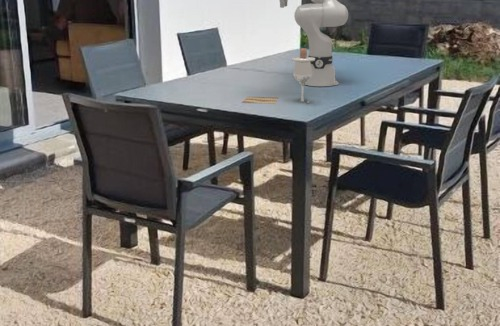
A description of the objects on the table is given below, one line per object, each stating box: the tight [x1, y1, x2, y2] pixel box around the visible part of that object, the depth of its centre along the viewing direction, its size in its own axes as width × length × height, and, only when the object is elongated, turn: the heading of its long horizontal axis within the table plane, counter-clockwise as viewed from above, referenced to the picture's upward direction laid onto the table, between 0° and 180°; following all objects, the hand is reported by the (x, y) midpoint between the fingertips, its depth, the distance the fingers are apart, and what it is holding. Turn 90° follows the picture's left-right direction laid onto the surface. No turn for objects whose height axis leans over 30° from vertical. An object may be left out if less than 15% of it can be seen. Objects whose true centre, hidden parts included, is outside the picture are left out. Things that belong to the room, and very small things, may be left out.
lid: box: [290, 47, 315, 62], centre depth 269 cm, size 10×10×5 cm
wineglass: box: [292, 61, 313, 104], centre depth 273 cm, size 8×8×18 cm
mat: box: [241, 96, 280, 105], centre depth 277 cm, size 14×14×1 cm
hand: (283, 7), depth 277 cm, fingers open, 8 cm apart
